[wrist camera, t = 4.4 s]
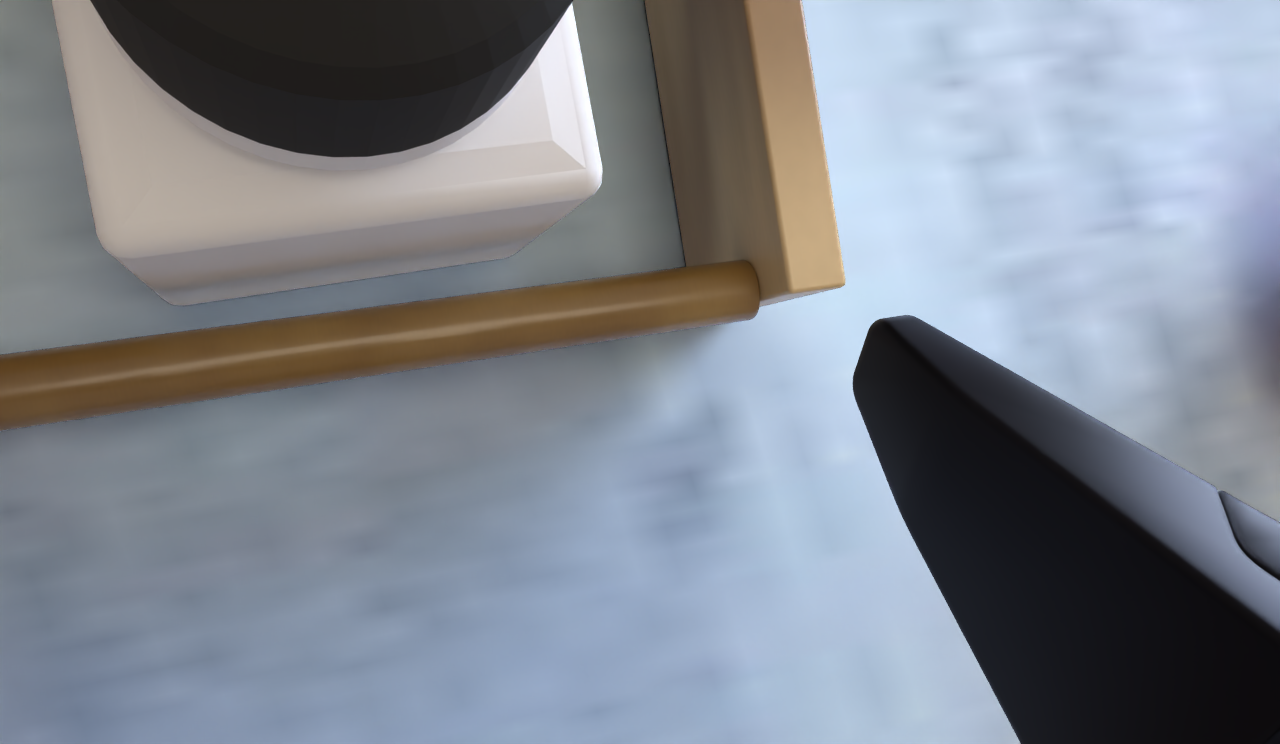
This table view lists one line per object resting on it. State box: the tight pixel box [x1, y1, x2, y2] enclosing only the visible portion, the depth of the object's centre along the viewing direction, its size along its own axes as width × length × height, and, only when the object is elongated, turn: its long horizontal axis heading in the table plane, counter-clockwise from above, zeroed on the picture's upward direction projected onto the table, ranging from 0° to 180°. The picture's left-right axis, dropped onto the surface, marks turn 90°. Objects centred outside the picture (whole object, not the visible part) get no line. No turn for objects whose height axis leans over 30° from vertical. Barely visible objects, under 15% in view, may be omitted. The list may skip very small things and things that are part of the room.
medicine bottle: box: [51, 0, 603, 306], centre depth 16 cm, size 7×7×12 cm
